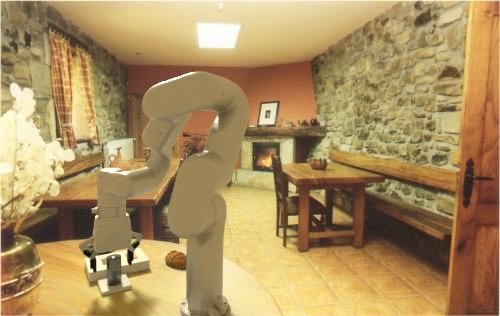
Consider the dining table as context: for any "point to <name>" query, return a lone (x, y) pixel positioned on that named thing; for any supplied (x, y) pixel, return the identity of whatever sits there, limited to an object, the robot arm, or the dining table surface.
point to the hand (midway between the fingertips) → (112, 266)
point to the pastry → (176, 259)
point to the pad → (112, 289)
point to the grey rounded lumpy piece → (93, 247)
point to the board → (137, 264)
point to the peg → (113, 269)
